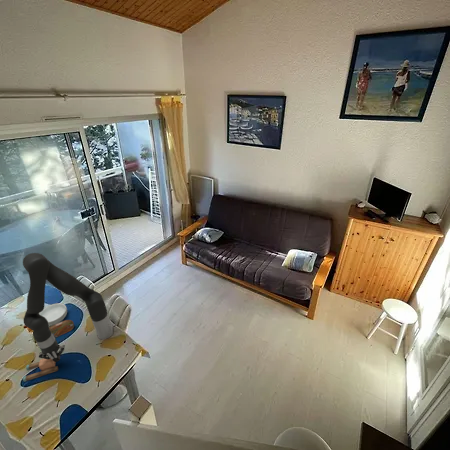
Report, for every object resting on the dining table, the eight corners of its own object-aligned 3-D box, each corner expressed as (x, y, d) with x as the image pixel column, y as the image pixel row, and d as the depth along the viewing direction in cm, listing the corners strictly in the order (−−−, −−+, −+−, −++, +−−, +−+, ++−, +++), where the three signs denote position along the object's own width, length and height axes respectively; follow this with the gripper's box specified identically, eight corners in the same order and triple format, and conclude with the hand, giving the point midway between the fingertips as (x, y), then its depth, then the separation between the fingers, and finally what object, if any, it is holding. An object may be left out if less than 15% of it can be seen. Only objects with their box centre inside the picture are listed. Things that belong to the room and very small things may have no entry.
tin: (49, 340, 156) (45, 331, 152) (49, 336, 158) (44, 328, 154) (75, 328, 164) (72, 320, 160) (75, 325, 166) (71, 317, 162)
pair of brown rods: (60, 357, 147) (58, 355, 145) (57, 370, 140) (56, 368, 139) (28, 367, 141) (26, 365, 140) (24, 381, 134) (22, 379, 133)
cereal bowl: (74, 316, 172) (71, 309, 169) (48, 333, 160) (45, 326, 157) (61, 306, 180) (58, 299, 177) (36, 321, 168) (32, 314, 164)
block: (55, 361, 144) (52, 355, 141) (54, 368, 141) (51, 362, 138) (43, 365, 142) (40, 359, 139) (42, 372, 139) (38, 366, 136)
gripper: (61, 332, 138) (70, 350, 147) (33, 340, 133) (45, 358, 142) (59, 343, 132) (69, 361, 141) (30, 352, 127) (42, 370, 136)
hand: (57, 360), depth 141 cm, fingers closed
